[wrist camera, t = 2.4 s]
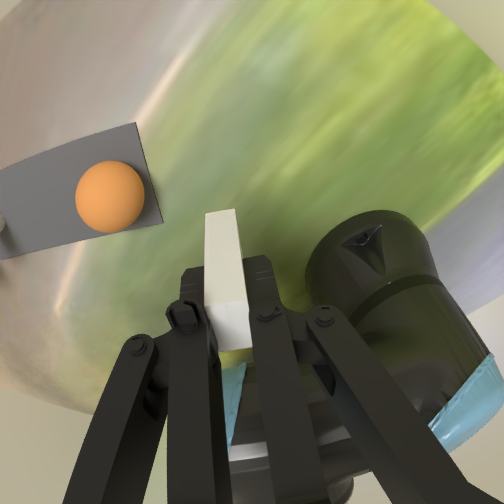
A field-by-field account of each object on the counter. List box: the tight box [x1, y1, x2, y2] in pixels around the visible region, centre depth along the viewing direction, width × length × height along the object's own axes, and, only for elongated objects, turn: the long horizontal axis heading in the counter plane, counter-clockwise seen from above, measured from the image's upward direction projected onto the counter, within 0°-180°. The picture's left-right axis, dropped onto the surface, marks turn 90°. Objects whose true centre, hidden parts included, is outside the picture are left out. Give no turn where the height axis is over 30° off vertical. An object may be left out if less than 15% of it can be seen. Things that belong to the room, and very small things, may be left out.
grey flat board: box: [0, 122, 163, 260], centre depth 27 cm, size 27×10×1 cm, turn 97°
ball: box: [75, 161, 145, 233], centre depth 24 cm, size 6×6×6 cm
